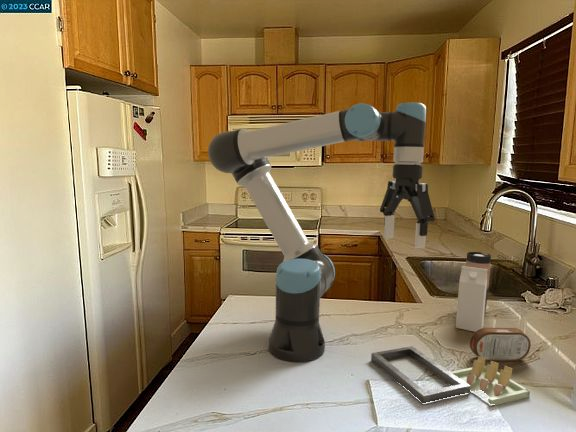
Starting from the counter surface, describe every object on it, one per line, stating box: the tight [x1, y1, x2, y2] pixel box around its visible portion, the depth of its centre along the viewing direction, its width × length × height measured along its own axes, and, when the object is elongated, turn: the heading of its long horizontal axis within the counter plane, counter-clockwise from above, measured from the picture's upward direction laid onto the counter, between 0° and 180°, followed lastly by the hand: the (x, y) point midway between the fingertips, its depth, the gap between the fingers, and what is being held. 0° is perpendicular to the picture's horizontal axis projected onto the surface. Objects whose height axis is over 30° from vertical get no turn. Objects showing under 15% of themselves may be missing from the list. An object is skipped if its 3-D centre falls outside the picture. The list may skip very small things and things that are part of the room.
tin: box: [469, 326, 532, 362], centre depth 103 cm, size 15×3×8 cm, turn 92°
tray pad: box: [450, 364, 531, 406], centre depth 91 cm, size 11×12×1 cm
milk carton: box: [455, 265, 487, 333], centre depth 123 cm, size 7×7×19 cm
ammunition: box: [467, 356, 514, 396], centre depth 90 cm, size 5×7×8 cm
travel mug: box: [465, 251, 492, 314], centre depth 138 cm, size 8×8×20 cm
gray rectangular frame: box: [370, 345, 471, 403], centre depth 95 cm, size 12×20×2 cm, turn 20°
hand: (403, 243), depth 108 cm, fingers open, 13 cm apart
